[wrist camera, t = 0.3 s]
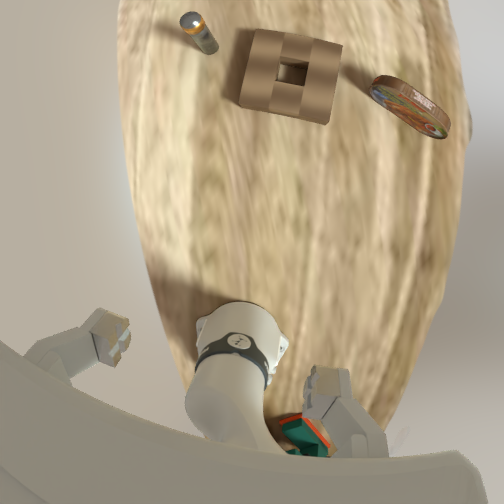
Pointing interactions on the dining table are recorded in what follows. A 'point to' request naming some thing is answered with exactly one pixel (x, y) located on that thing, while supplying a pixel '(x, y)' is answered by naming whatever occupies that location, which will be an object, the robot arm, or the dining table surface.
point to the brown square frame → (284, 94)
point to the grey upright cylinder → (199, 32)
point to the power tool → (304, 437)
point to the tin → (410, 106)
